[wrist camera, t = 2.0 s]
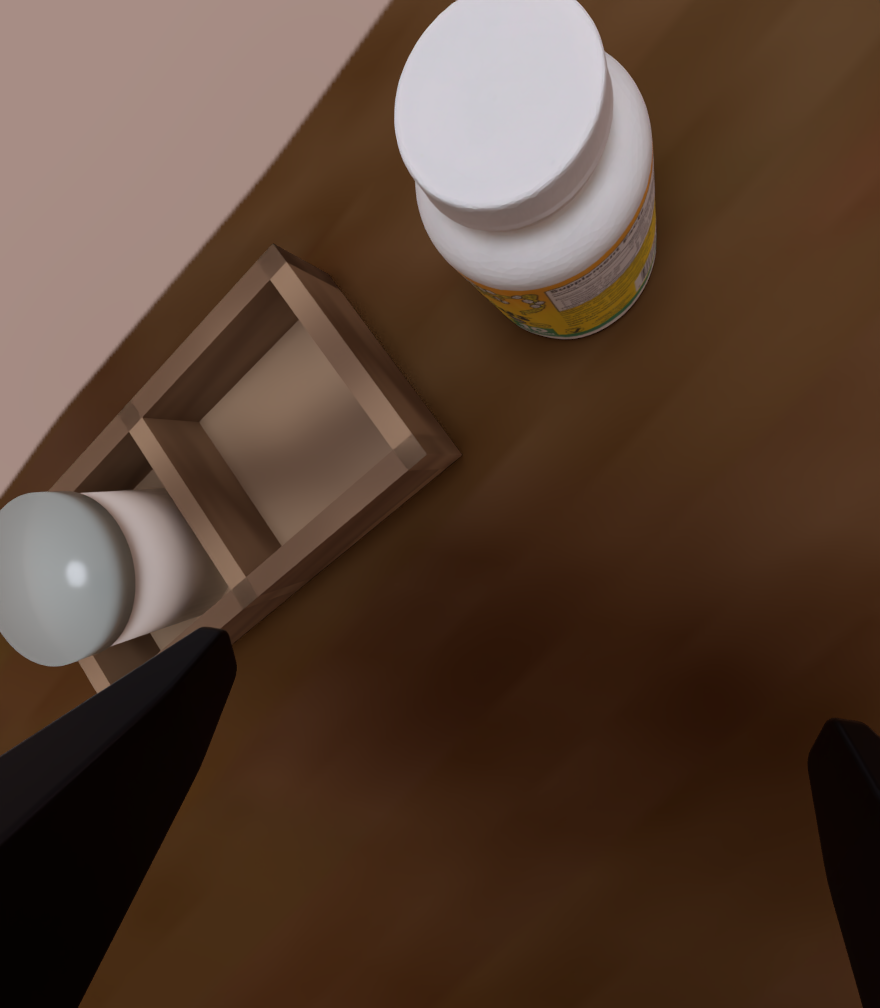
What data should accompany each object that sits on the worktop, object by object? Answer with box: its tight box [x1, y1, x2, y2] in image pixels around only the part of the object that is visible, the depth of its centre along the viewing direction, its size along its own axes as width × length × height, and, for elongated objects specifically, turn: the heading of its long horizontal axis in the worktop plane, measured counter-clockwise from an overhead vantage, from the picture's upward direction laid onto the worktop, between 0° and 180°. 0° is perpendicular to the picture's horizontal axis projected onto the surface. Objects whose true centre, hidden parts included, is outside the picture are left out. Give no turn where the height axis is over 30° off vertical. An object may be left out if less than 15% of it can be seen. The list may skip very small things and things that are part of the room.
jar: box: [0, 488, 228, 666], centre depth 23 cm, size 6×6×6 cm
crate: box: [48, 244, 462, 693], centre depth 23 cm, size 9×16×4 cm, turn 128°
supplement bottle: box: [394, 0, 656, 339], centre depth 16 cm, size 5×5×10 cm
